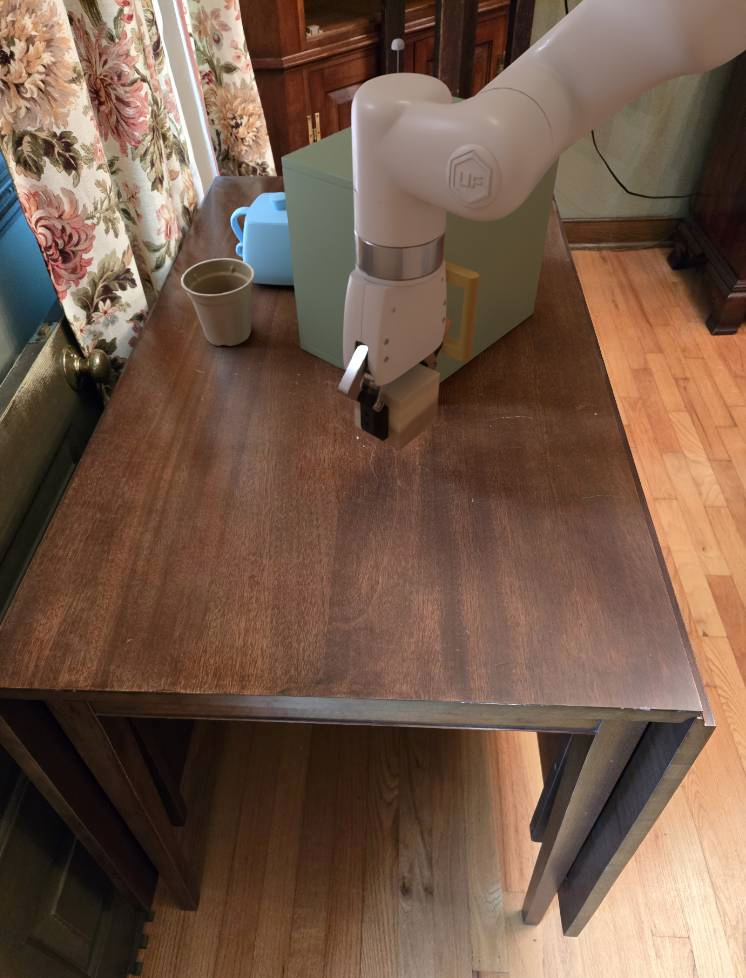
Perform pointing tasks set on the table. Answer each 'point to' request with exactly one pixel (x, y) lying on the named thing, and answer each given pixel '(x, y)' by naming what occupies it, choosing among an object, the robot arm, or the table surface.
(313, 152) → the cupboard
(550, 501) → the table surface
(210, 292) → the flower pot
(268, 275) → the teapot
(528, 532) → the table surface
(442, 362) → the cupboard door
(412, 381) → the block
